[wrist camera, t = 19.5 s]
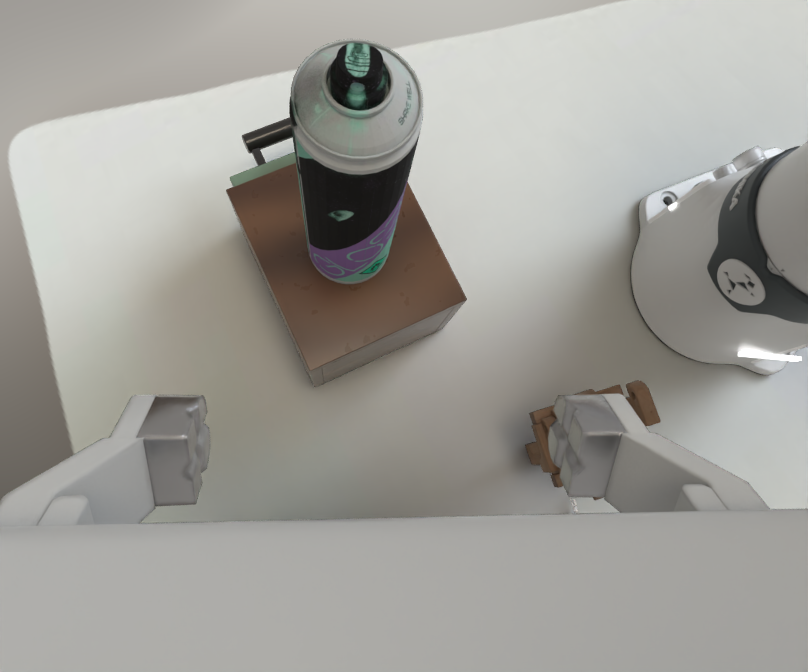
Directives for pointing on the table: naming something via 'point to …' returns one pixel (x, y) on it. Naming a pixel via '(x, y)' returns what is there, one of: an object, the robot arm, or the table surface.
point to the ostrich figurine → (546, 416)
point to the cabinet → (345, 303)
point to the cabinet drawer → (262, 140)
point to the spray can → (353, 152)
